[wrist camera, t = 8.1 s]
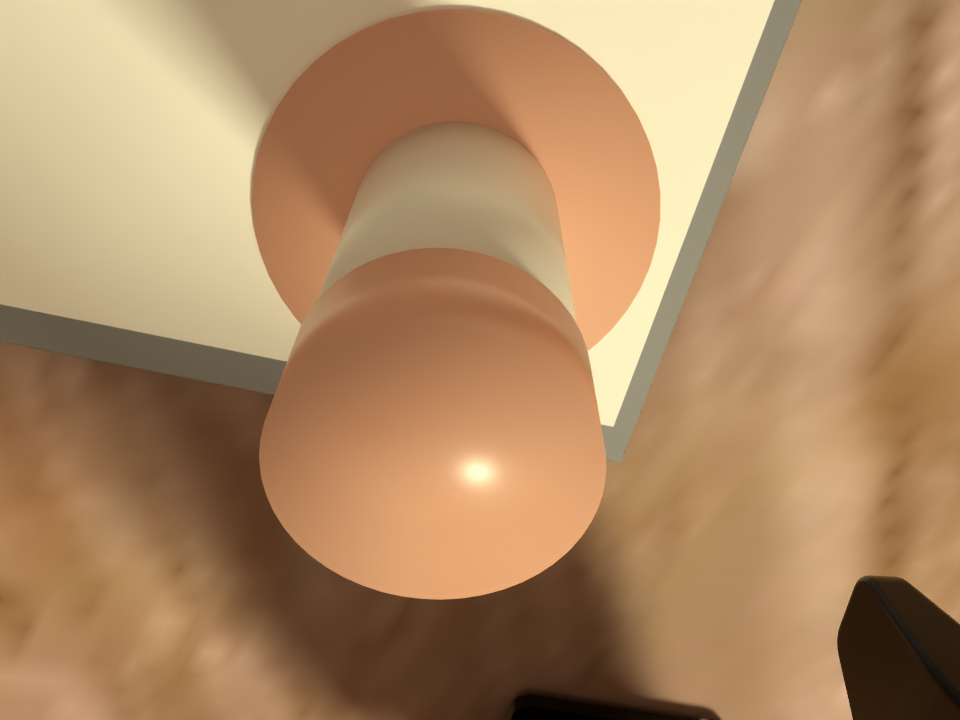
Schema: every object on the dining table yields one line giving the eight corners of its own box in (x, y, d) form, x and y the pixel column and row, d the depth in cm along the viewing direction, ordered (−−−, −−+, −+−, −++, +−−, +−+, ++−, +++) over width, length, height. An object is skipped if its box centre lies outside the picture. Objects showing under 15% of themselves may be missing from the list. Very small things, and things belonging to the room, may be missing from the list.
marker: (589, 144, 17) (652, 364, 10) (532, 334, 19) (553, 623, 12) (368, 92, 17) (279, 286, 10) (334, 293, 19) (243, 568, 12)
